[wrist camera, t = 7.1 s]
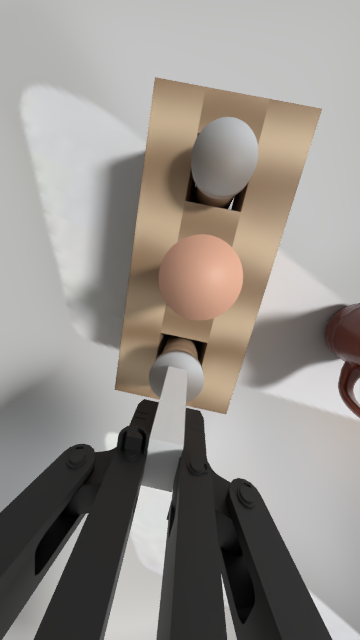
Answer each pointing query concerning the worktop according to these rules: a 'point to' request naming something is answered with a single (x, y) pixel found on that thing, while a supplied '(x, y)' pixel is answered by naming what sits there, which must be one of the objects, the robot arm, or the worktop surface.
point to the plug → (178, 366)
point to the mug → (346, 351)
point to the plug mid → (200, 277)
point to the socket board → (208, 229)
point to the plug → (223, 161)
